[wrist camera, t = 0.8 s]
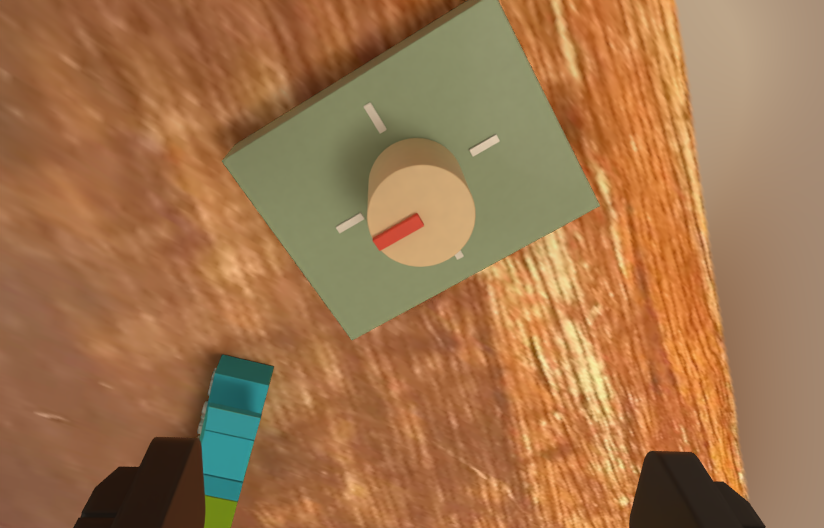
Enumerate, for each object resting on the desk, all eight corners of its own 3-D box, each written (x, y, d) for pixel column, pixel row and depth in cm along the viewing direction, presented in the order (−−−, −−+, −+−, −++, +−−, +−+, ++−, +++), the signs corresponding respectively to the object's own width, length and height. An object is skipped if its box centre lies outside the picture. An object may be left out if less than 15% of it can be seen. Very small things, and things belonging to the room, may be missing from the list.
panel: (484, -11, 31) (495, -8, 28) (583, 187, 35) (601, 207, 32) (233, 144, 34) (220, 162, 31) (353, 313, 38) (351, 342, 35)
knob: (433, 119, 30) (443, 145, 26) (480, 199, 32) (496, 237, 28) (350, 168, 31) (345, 202, 27) (399, 245, 33) (402, 288, 28)
